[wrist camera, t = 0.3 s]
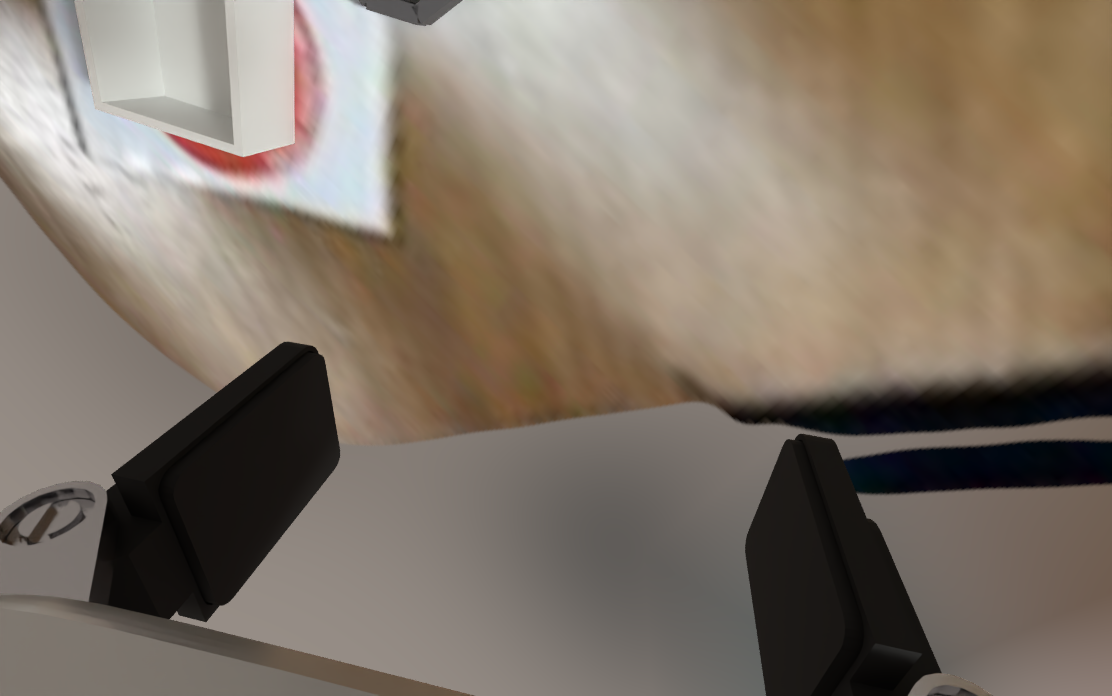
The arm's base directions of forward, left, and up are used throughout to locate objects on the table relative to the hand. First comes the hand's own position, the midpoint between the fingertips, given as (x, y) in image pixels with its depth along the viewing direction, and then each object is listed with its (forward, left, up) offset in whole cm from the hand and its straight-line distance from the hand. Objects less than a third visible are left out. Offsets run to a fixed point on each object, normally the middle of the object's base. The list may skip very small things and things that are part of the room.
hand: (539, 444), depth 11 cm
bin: (+2, -35, -36) cm, 50 cm away
